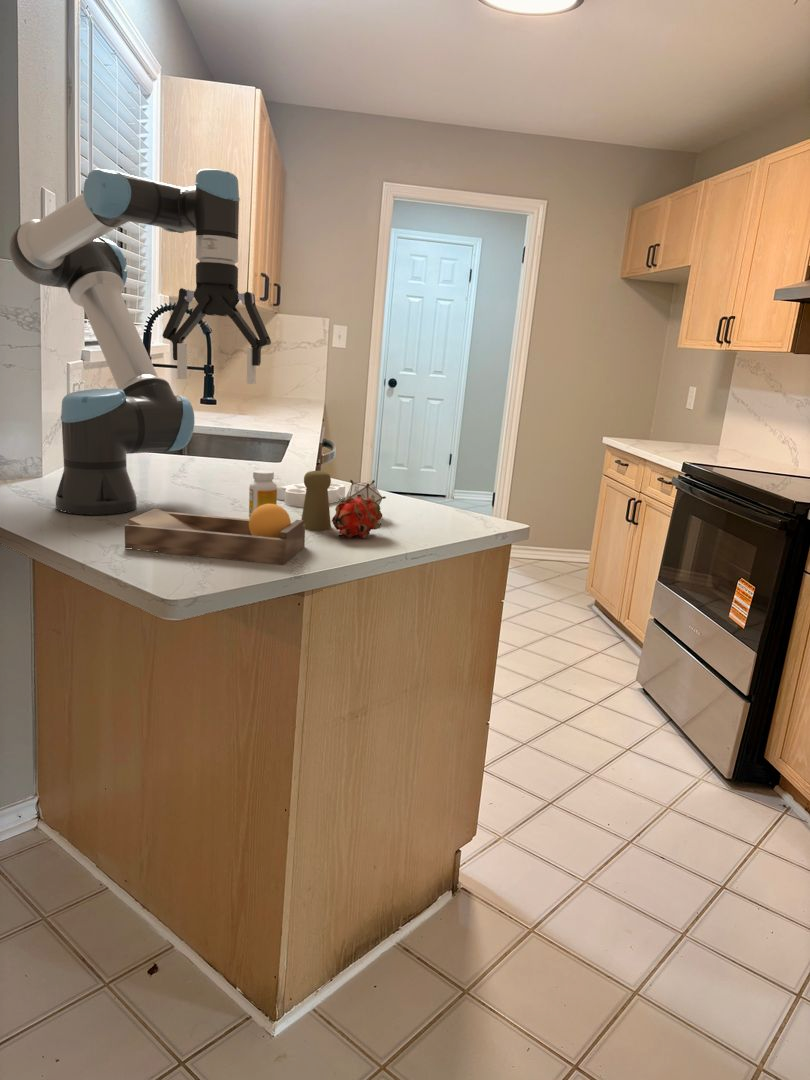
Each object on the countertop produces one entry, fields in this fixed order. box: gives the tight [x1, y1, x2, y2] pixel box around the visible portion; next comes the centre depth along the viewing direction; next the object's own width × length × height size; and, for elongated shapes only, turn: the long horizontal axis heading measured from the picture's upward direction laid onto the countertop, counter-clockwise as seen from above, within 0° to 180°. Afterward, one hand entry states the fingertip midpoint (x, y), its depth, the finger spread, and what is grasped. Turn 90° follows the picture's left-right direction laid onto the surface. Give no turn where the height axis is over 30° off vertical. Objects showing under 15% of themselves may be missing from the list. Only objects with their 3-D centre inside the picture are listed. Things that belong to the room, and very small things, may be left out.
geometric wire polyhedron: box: [340, 479, 387, 506], centre depth 161 cm, size 9×8×10 cm
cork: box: [300, 470, 332, 532], centre depth 150 cm, size 6×6×11 cm
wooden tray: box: [124, 508, 306, 566], centre depth 131 cm, size 27×12×5 cm, turn 82°
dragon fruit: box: [331, 495, 383, 540], centre depth 145 cm, size 8×8×12 cm
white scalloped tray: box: [277, 482, 346, 508], centre depth 178 cm, size 3×18×15 cm
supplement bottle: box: [248, 469, 278, 519], centre depth 153 cm, size 5×5×10 cm
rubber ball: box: [248, 504, 292, 538], centre depth 130 cm, size 7×7×7 cm
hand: (216, 381), depth 146 cm, fingers open, 13 cm apart
